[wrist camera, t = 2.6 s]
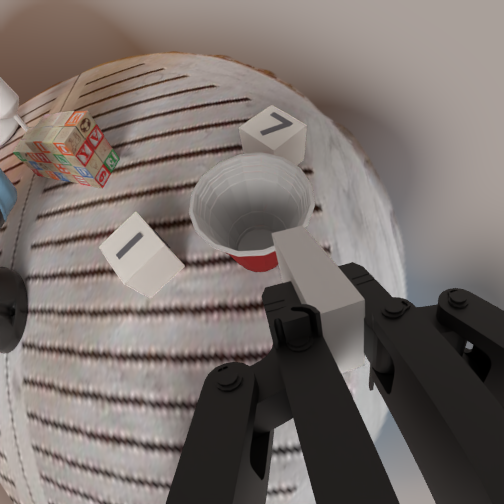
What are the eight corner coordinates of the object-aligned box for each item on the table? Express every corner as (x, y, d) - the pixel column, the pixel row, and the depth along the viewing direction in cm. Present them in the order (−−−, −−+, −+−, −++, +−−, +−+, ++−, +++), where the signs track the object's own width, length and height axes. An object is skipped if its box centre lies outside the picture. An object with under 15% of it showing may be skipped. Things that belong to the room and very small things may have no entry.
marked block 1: (126, 266, 36) (98, 246, 29) (159, 235, 37) (136, 209, 30) (150, 298, 34) (123, 284, 27) (186, 265, 35) (165, 243, 28)
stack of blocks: (37, 177, 45) (3, 143, 34) (52, 152, 47) (21, 117, 36) (103, 189, 41) (62, 142, 30) (121, 158, 43) (87, 108, 32)
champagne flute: (22, 152, 50) (-31, 92, 27) (32, 132, 52) (-15, 72, 30) (37, 146, 49) (-17, 80, 27) (48, 125, 51) (0, 60, 29)
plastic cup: (291, 200, 37) (294, 137, 26) (315, 279, 33) (332, 238, 22) (209, 219, 37) (182, 162, 26) (223, 300, 33) (195, 270, 22)
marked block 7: (244, 161, 40) (238, 126, 33) (274, 138, 41) (272, 103, 34) (275, 184, 38) (273, 149, 31) (304, 158, 39) (307, 123, 33)
